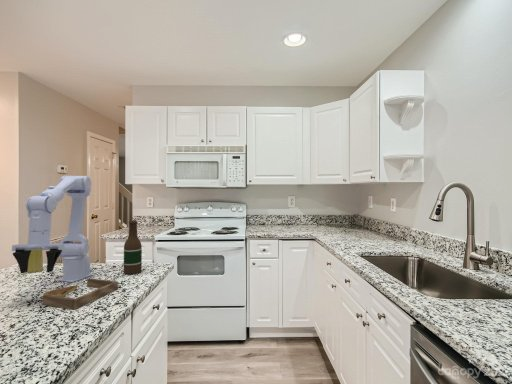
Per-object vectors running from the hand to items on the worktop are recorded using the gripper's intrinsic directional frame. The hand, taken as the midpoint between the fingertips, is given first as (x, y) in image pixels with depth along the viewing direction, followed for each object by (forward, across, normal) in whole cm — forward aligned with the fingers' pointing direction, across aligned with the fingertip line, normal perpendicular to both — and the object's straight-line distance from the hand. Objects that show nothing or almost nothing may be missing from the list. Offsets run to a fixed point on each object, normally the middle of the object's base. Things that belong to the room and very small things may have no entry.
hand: (37, 272), depth 87 cm
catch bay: (+10, +12, +4) cm, 16 cm away
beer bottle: (+8, +22, +31) cm, 39 cm away
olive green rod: (+7, -23, +40) cm, 47 cm away
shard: (+10, +2, +9) cm, 14 cm away
